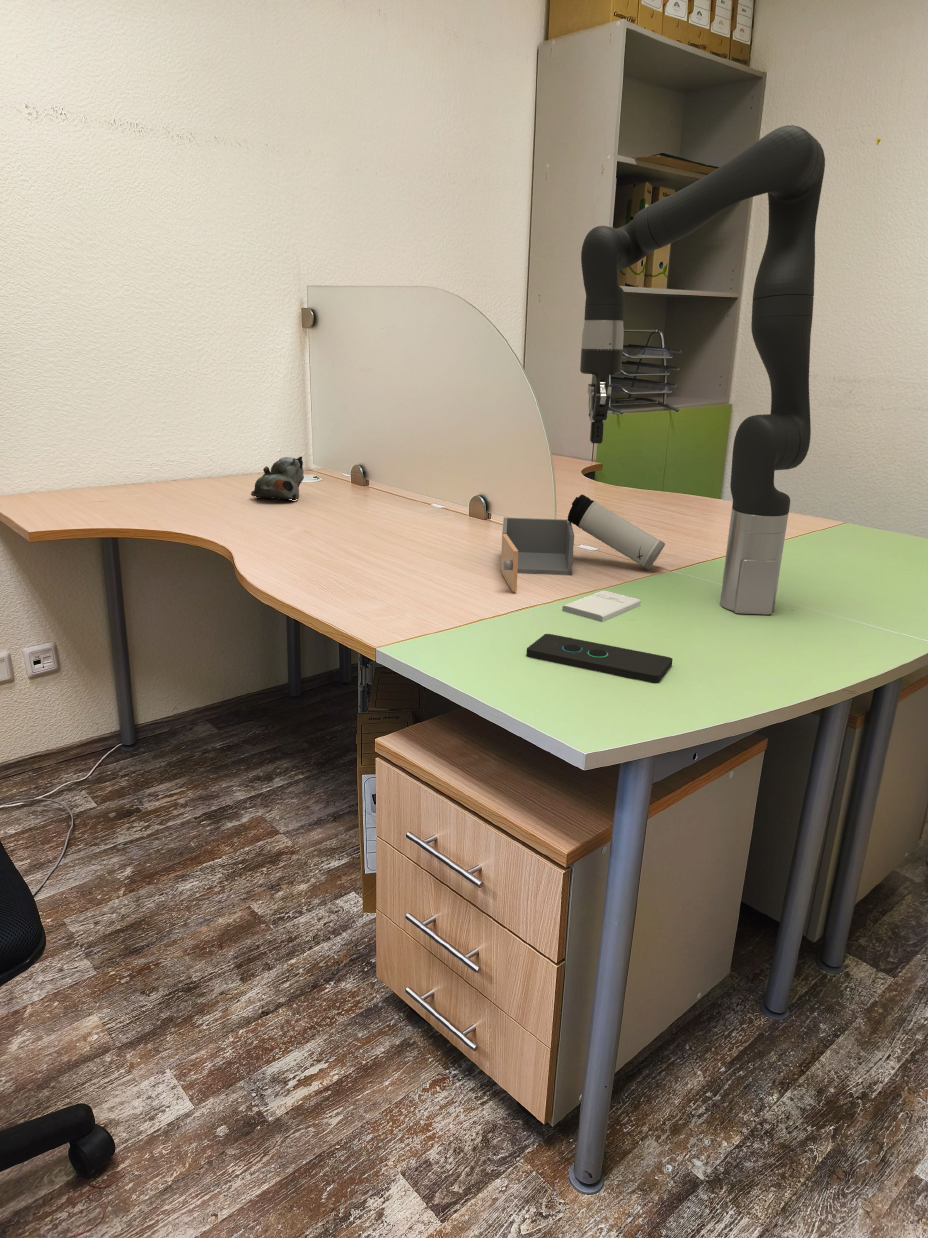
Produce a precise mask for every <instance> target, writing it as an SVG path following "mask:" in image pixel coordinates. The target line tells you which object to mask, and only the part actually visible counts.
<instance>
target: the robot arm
mask: <svg viewBox="0 0 928 1238" xmlns="http://www.w3.org/2000/svg"><path fill="white" fill-rule="evenodd" d="M825 167H826V157H825V153H824V148H823V147H822V144H821V143H820V142H819V140H817V138H815V136H813V135H812V134H811V133H810V132H809V131H808V130H806V129H804V128H803V127H802V126H797V125H794V124H791V125H783V126H779V127H778V128H775V129H774V130H772V131H770V132H769V133H767V134H766V135H764V136H763V137H761V138H760V139H758V140H757V141H756V142H754V143H753V144H751V145H750V146H749V147H747V148H745V150H743V151H741V152H740V153H738V154H737V155H736V156H735V157H733V158H732V159H730V160H728V161H727V162H725V163H724V164H722V165H721V166H719V167H718V168H716V169H715V170H713V171H712V172H710V173H708V174H707V175H705V176H704V177H701V178H700V179H698V180H697V181H696V180H695V182H693V183H691V184H689V185H688V186H684V188H682V189H679V190H678V191H676V192H673V193H672V194H670V195H668V196H666V197H663V198H661V199H660V200H657V201H655V202H653V203H651V204H649V205H648V206H646V207H644V208H643V209H640V210H639V211H638V212H637V213H636V214H635V215H634V217H633V219H632V220H631V221H630V222H629V223H626V224H624V225H622V226H620V227H617V228H616V227H611V226H607V225H598V226H596V227H593V228H592V229H591V230H590V231H589V232H588V233H586V236H585V238H584V240H583V243H582V245H581V246H582V247H581V253H580V258H581V259H580V261H581V271H582V272H581V273H582V280H583V288H584V292H585V303H584V304H585V306H584V318H583V319H584V321H583V328H582V332H581V333H582V334H581V349H580V350H581V351H580V366H579V369H580V371H579V372H580V373H581V374H583V375H591V383H588V384H587V394H588V402H587V403H588V405H587V406H588V407H587V408H588V417H589V421H590V422H589V423H590V431H589V434H590V435H589V441H590V443H591V444H602V443H603V440H604V439H603V438H604V427H605V426H604V424H605V423H606V420H607V418H608V411H609V406H610V399H611V398H612V396H611V394H612V384H609V376H613V375H620V374H621V373H622V364H623V363H622V362H623V352H624V351H623V349H624V334H625V333H624V314H625V301H626V300H625V291H624V289H623V288H622V287H621V286H620V284H619V280H618V278H619V277H618V276H619V275H618V272H619V271H622V270H625V269H627V268H629V267H631V266H634V265H635V264H637V263H638V262H639V261H641V260H642V259H644V258H645V257H648V256H649V255H650V254H651V253H652V252H654V251H656V250H659V249H661V248H664V247H666V246H668V245H670V244H672V243H674V242H677V241H679V240H681V239H684V238H685V237H687V236H689V235H690V234H692V233H694V232H695V231H697V230H698V229H700V228H701V227H703V226H705V224H707V223H708V222H709V221H711V220H712V219H713V218H715V217H716V216H717V215H719V214H720V213H722V211H724V210H726V209H728V208H730V207H732V206H733V205H735V204H738V203H740V202H742V201H745V200H748V199H750V198H754V197H757V196H760V195H761V196H762V195H764V194H767V199H768V200H767V201H768V232H767V239H766V245H765V248H764V251H763V254H762V258H761V261H760V263H759V266H758V270H757V274H756V277H755V281H754V286H753V291H752V292H753V293H752V303H751V307H752V308H751V329H750V330H751V334H752V339H753V342H754V345H755V348H756V350H757V352H758V355H759V357H760V359H761V361H762V364H763V365H764V368H765V370H766V372H767V375H768V379H769V385H770V392H771V394H770V397H771V398H770V399H771V400H770V401H771V402H770V413H769V414H767V413H766V414H754V415H749V416H747V418H745V419H744V420H743V421H741V423H740V424H739V426H738V428H737V430H736V432H735V436H734V440H733V445H732V446H733V447H732V457H731V468H730V469H731V472H730V474H731V475H730V484H729V485H730V493H731V498H732V504H731V505H732V506H731V513H730V519H729V521H730V522H729V529H728V535H727V545H726V552H725V557H724V558H725V561H724V566H723V567H724V568H723V573H722V574H723V576H722V582H721V583H722V584H721V592H720V599H719V604H720V606H722V607H723V608H725V609H726V610H729V611H732V612H734V613H735V614H743V615H744V614H748V615H769V614H771V615H772V613H773V611H774V610H775V606H776V600H777V593H778V586H779V578H780V572H781V566H782V565H781V564H782V561H783V560H782V559H783V552H784V547H785V546H784V545H785V540H786V539H785V538H786V532H787V526H788V519H789V513H790V507H791V498H790V496H789V495H788V494H787V493H785V492H782V491H780V490H778V489H777V488H776V486H775V471H783V470H787V471H788V470H792V469H795V468H797V467H798V466H800V465H801V464H802V463H803V462H804V460H805V459H806V457H807V455H808V452H809V449H810V443H811V435H812V434H811V432H812V427H811V404H810V400H811V399H810V360H811V357H810V354H811V339H812V338H811V337H812V336H811V335H812V328H813V327H812V326H813V315H814V301H815V299H814V298H815V275H816V274H815V269H816V268H815V267H816V265H815V264H816V226H817V225H816V224H817V218H818V214H819V213H818V211H819V207H820V206H819V205H820V198H821V192H822V187H823V180H824V175H825V169H826V168H825Z"/></svg>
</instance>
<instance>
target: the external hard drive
mask: <svg viewBox="0 0 928 1238" xmlns="http://www.w3.org/2000/svg"><path fill="white" fill-rule="evenodd" d="M641 603H642V602H641V599H639V598H635V597H631V596H627V595H625V594H624V595H622V594H620V593H615V592H611V591H608V590H600V591H598V592H595V593H592V594H589V595H587V596H585V597H582V598H580V599H577V600H573V601H571V602H568V603H566V604H564V605H562V606H561V607H562V609H561V611H562V612H565V613H569V614H572V615H575V616H579V617H583V618H586V619H590V620H594V621H597V622H600V623H601V622H602V623H604V622H606V621H608V620H611V619H613V618H615V617H617V616H619V615H621V614H624V613H626V612H628V611H631V610H633V609H635V608H637V607H641Z"/></svg>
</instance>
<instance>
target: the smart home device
mask: <svg viewBox="0 0 928 1238" xmlns="http://www.w3.org/2000/svg"><path fill="white" fill-rule="evenodd" d="M525 655H526V657H528V658H531V659H535V660H541V661H545V662H550V663H554V664H560V665H565V666H569V667H574V668H579V669H583V670H588V671H593V672H598V673H603V674H606V675H607V674H608V675H613V676H617V677H623V678H625V679H626V678H627V679H632V680H638V681H642V682H646V683H652V684H659V683H660V682H661V681H662V679H663V678H664V677H665V675H666V674H667V673H668V671H669V670H670V669H671V668H672V667H673V666H672V665H673V659H674V658H672V657H669V656H666V655H661V654H654V653H650V652H645V651H640V650H636V649H635V650H634V649H629V648H623V647H621V646H620V647H619V646H616V645H615V646H614V645H609V644H604V643H600V642H599V643H597V642H592V641H589V640H584V639H578V638H572V637H568V636H563V635H557V634H553V633H552V634H551V633H545V634H543V635H542V636H540V637H539V638H538V639H537V640H535V641H534V642H533V643H531V644H530V645H529V646H528V647H526V654H525Z"/></svg>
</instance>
